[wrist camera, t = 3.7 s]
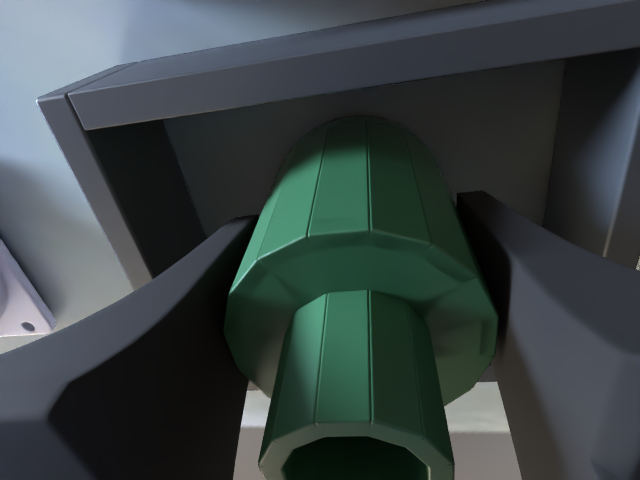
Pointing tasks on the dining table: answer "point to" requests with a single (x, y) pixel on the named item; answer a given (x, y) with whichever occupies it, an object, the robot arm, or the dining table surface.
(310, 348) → the bottle
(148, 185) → the crate
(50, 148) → the dining table surface
